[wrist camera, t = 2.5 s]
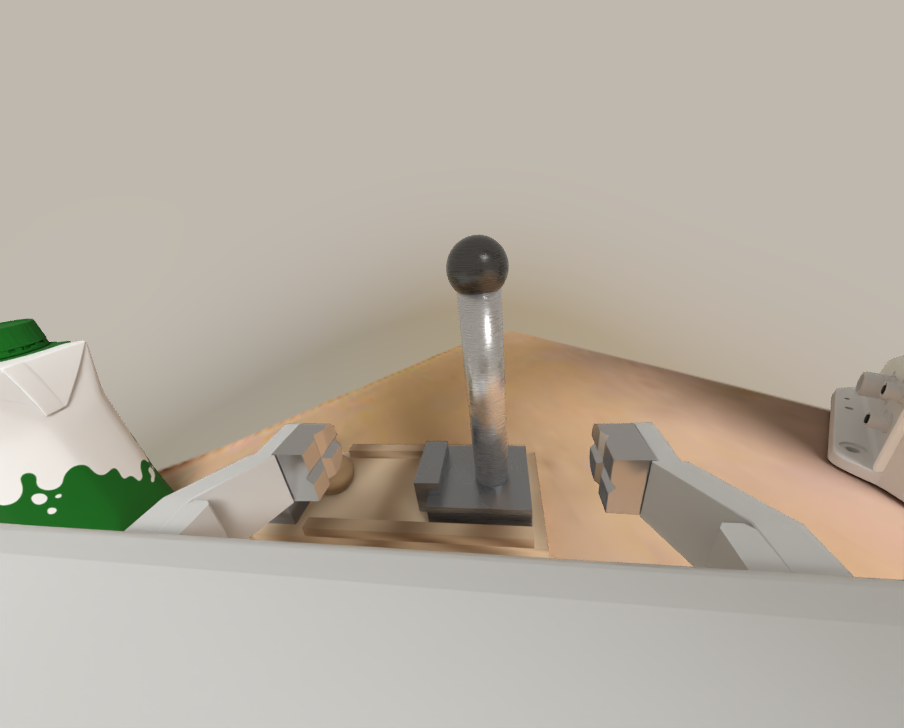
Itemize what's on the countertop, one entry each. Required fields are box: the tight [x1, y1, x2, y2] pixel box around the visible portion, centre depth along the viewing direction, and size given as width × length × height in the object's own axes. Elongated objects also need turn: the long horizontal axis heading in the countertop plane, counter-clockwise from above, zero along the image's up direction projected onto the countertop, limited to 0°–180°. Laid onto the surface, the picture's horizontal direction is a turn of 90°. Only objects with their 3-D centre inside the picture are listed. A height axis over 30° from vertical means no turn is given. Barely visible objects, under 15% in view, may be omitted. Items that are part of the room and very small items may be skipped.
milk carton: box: [0, 319, 174, 531], centre depth 25 cm, size 9×9×20 cm
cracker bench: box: [252, 444, 549, 558], centre depth 29 cm, size 24×10×6 cm, turn 82°
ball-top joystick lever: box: [414, 235, 532, 527], centre depth 24 cm, size 9×7×21 cm
